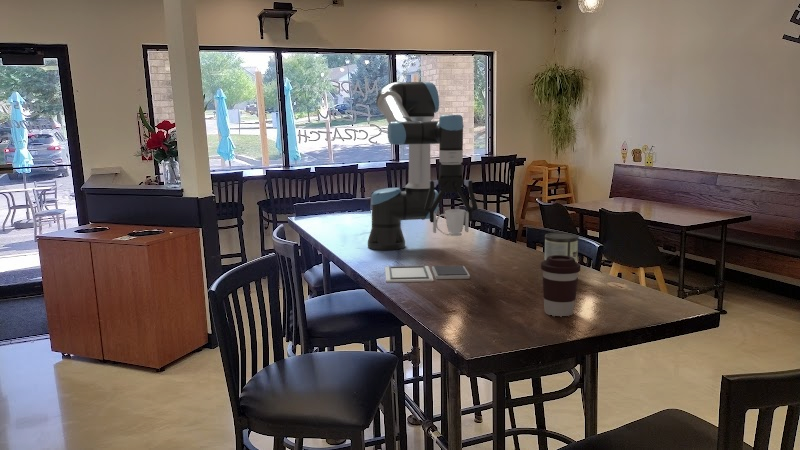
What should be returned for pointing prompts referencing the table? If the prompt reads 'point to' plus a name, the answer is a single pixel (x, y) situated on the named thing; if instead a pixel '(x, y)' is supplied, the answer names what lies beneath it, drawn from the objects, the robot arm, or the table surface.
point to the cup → (453, 221)
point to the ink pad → (450, 272)
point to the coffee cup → (559, 284)
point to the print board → (408, 274)
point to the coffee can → (561, 244)
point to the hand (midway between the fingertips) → (450, 231)
